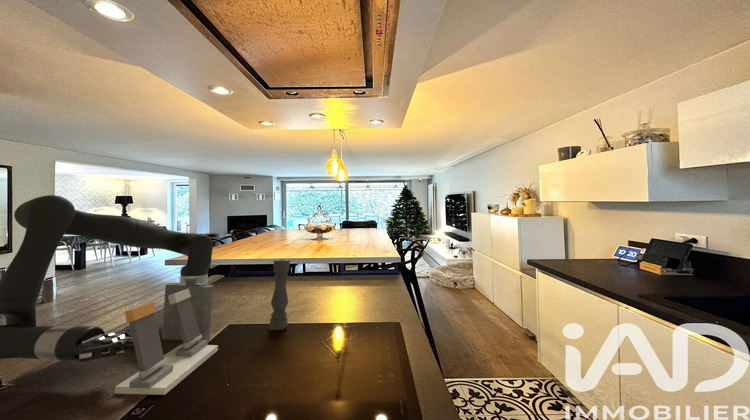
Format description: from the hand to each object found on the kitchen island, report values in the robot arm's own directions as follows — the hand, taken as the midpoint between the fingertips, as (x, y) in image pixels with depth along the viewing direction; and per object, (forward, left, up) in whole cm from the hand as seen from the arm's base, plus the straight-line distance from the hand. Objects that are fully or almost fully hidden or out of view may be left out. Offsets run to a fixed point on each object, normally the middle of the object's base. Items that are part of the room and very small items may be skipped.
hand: (144, 345), depth 67 cm
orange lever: (+2, +1, -5) cm, 6 cm away
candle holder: (-2, +43, -9) cm, 44 cm away
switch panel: (-2, +8, -9) cm, 12 cm away
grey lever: (-6, +14, -5) cm, 16 cm away
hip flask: (-19, +20, -9) cm, 29 cm away
